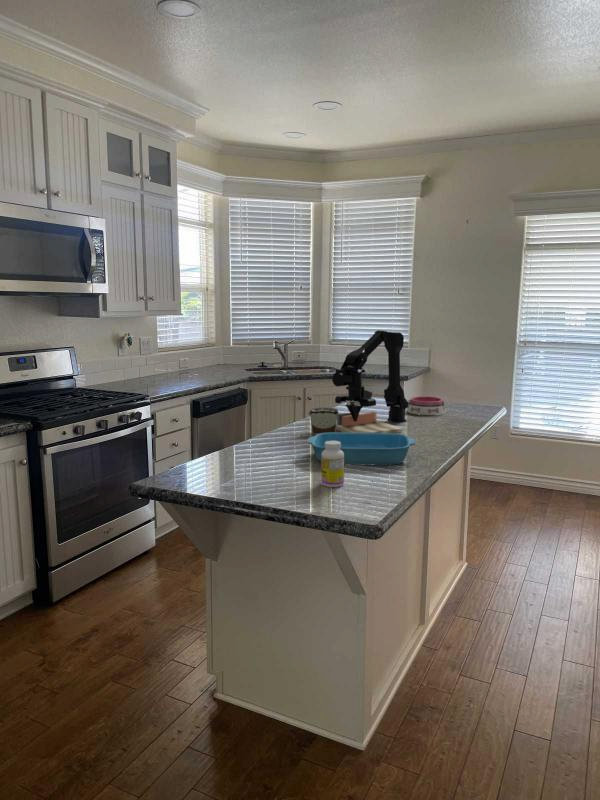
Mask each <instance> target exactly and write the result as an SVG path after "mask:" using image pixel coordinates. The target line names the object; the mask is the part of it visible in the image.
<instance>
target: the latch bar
mask: <svg viewBox="0 0 600 800" xmlns="http://www.w3.org/2000/svg"><path fill="white" fill-rule="evenodd" d="M376 420H377V411H370V412H369V411H368V412H363V413H359V415H358V418H357V421H354V419H353V417H352V415H347V416H342V426H345V427H346V426H352V425H359V424H366V423H373V422H376Z"/></svg>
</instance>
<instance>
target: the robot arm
mask: <svg viewBox="0 0 600 800" xmlns="http://www.w3.org/2000/svg"><path fill="white" fill-rule="evenodd" d="M404 337H405V336H404V334H402V332H396V331H395V332H394V331H386V330H379V329H378V330H376V331H374V334H372V336H370V338H369V339H368V340H366V341H365V342H364V343H363V344H362V345H361V346H360V347H359V348H358V349H355V350H353V351H351V352H349V353H348V354H346V356H345V359H344V361H343V363H342V365H341V367H340V369H339V368H338V369H335V372H334V374H333V375H332V377H331V379H332V383H333V386H335V387H343V386H346V387H345V390H347V394H344V395H343V394H342V395H337V396H335V398H334V404H342V403H343V402H345V403H346V404H344V406H345V407H346V408H347V410H348V412H349V413H351V415H352V417H353V419H354V421H357V418H358V415H359V414H360V412H361V410H362V408H363V407H366V408H369V407H374V406H377V400H376V398H373V397H372V396H373V392H372V391H368V390H365V386H363V384H362V383H363V374H364V373H366V370H365V369H364V368H363V367H364V366H365V364H366V363H367V361H368V357H369V356H370V355H371V354H372V353H373V352H374V351H375V350H376V349H377V348H378V347H379V346H380V345H381V344H382V343H383V342H384V343H383V344H384V345H383V346H384V348H385V349H386V352H387V356H388V360H387V361H388V385H387V388H384V389H383V393H384V394H383V398H384V401H385V405H386V407H387V408H389V410H388V418H386V419H387V421H389V422H393V423H402V422H408V420H407V419H406V409H408V406H409V401H408V400H407V399H406V397H405V392H404V388H403V387H402V386H401V357H400V356H401V355H400V353H401V351H402V349H403V348H404V343H405V342H404V341H405V338H404Z"/></svg>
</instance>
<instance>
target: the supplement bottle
mask: <svg viewBox="0 0 600 800" xmlns="http://www.w3.org/2000/svg"><path fill="white" fill-rule="evenodd" d="M340 447H341V442H339V441H326V442H325V448H326V449H325V450H324V451H323V452H322V455H321V461H320V462H321V466H320V467H321V477H320V479H321V480H320V481H321V482H320V483H321V484H322V486H323V485H324V487H326V486H327V487H326V488H332V487H334V488H340V487H342V486H343V485H344V484H345V465H344V453H343V451H342V450H340ZM339 486H340V487H339Z"/></svg>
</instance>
